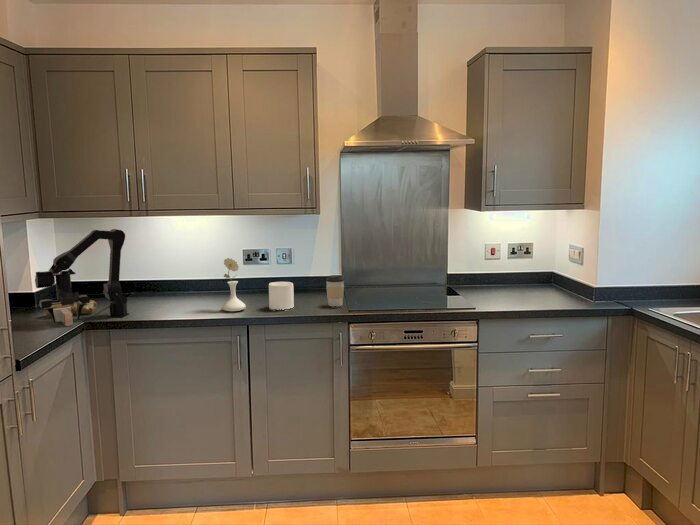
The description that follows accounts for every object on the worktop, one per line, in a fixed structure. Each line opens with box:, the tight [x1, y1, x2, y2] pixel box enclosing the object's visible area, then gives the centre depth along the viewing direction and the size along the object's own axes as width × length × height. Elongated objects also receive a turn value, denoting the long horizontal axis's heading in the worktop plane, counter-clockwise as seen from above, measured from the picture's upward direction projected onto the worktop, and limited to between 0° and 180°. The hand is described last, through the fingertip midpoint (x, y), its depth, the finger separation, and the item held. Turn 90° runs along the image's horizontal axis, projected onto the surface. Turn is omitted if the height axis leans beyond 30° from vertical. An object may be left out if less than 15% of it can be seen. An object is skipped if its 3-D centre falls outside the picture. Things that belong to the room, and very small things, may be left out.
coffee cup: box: [325, 274, 345, 307], centre depth 269 cm, size 9×9×15 cm
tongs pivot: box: [53, 307, 72, 323], centre depth 244 cm, size 2×7×5 cm, turn 127°
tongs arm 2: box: [63, 309, 74, 327], centre depth 238 cm, size 12×1×5 cm, turn 37°
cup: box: [268, 281, 295, 310], centre depth 265 cm, size 12×12×12 cm
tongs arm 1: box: [59, 309, 69, 327], centre depth 237 cm, size 12×1×5 cm, turn 37°
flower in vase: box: [221, 257, 247, 312], centre depth 260 cm, size 13×11×25 cm
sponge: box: [45, 299, 98, 317], centre depth 254 cm, size 13×8×20 cm
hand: (66, 320), depth 238 cm, fingers open, 9 cm apart
